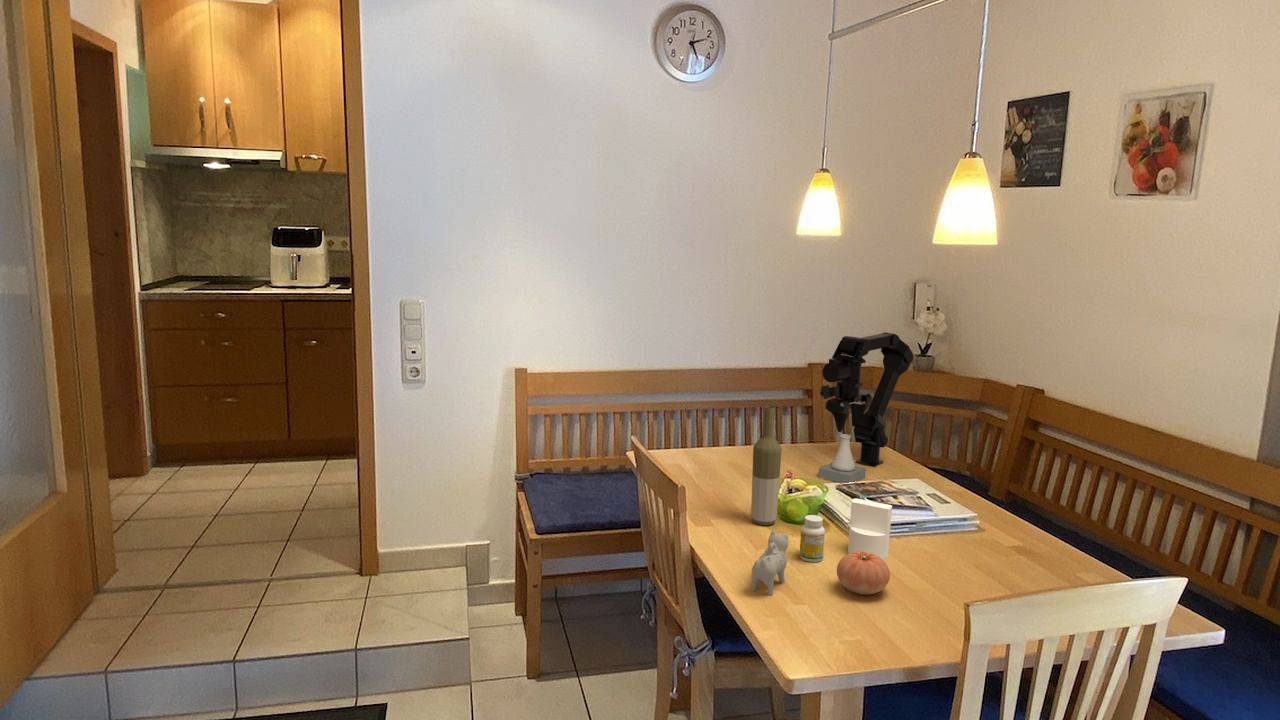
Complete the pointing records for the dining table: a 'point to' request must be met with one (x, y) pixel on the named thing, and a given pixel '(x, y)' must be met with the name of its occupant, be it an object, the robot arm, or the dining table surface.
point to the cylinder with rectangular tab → (869, 527)
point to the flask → (844, 455)
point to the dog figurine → (771, 562)
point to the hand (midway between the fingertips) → (846, 429)
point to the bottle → (766, 473)
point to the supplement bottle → (812, 539)
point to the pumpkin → (863, 572)
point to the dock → (842, 474)
